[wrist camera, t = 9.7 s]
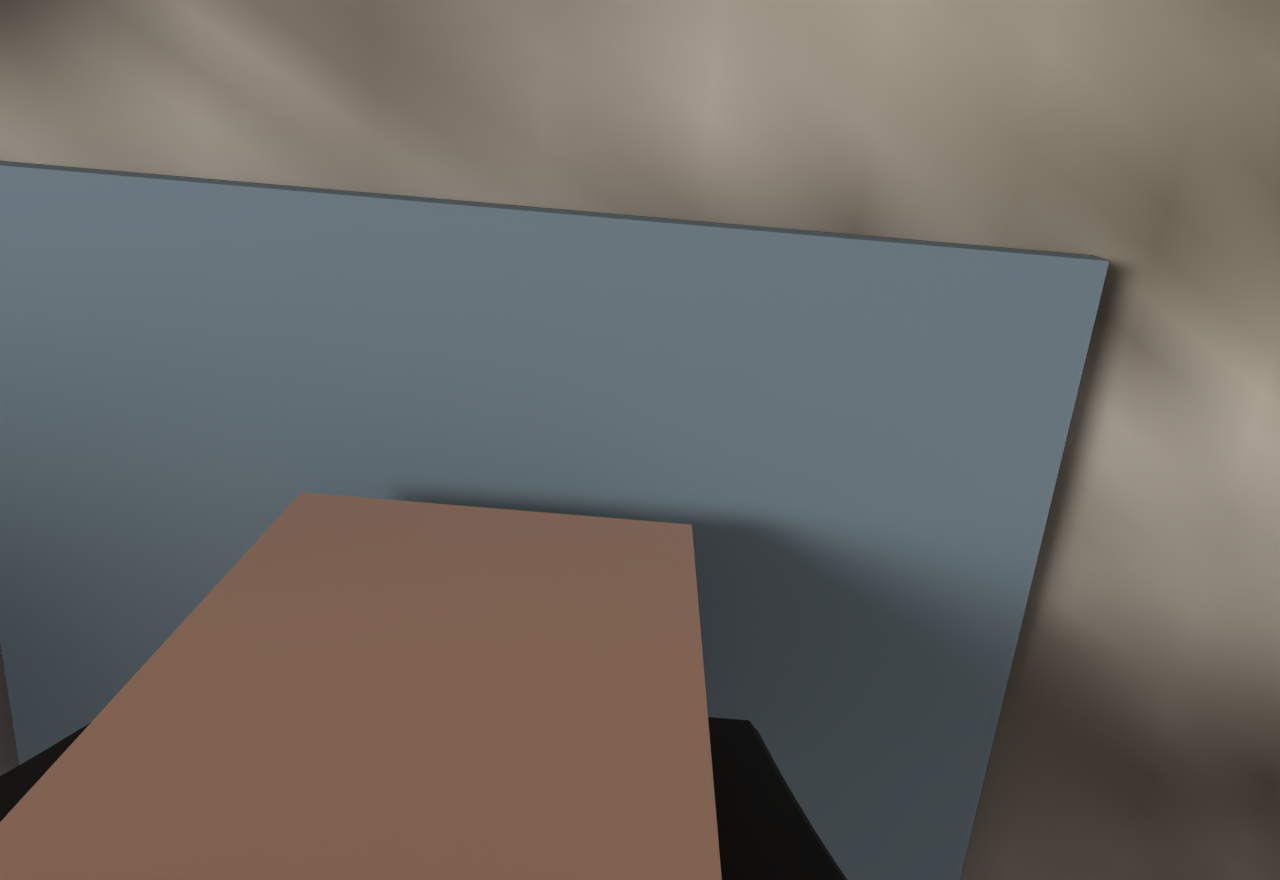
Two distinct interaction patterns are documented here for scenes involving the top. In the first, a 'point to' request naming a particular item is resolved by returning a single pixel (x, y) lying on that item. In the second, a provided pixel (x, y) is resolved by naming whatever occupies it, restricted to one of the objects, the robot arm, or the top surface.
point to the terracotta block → (404, 712)
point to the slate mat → (551, 442)
